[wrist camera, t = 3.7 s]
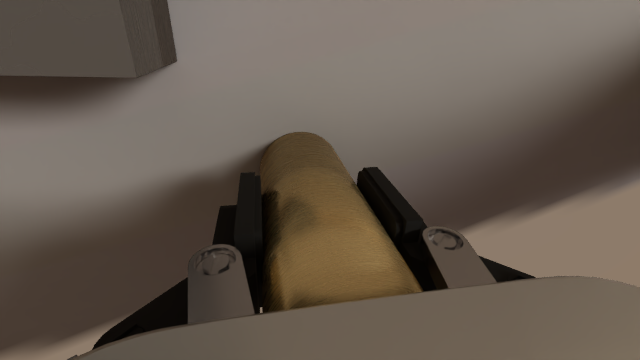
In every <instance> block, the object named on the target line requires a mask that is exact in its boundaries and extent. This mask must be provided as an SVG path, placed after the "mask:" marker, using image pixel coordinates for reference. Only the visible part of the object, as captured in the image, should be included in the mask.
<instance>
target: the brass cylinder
mask: <svg viewBox="0 0 640 360" xmlns="http://www.w3.org/2000/svg"><path fill="white" fill-rule="evenodd" d="M260 176H261V194H262V227H263V266H262V309H263V313H266V312H273V311H280V310H288V309H295V308H302V307H310V306H317V305H325V304H332V303H340V302H347V301H355V300H362V299H370V298H378V297H385V296H393V295H401V294H409V293H417V292H424V291H423V289H422V287H421V286H420V284H419V283H418V281H417V280H416V278H415V276H414V275H413V273H412V272H411V270H410V269H409V267H408V265H407V264H406V262H405V261H404V259H403V258H402V256H401V254H400V253H399V251H398V250H397V248H396V247H395V245H394V243H393V242H392V240H391V239H390V237H389V236H388V234H387V232H386V231H385V229H384V228H383V226H382V225H381V223H380V221H379V220H378V218H377V217H376V215H375V214H374V212H373V210H372V209H371V207H370V206H369V204H368V203H367V201H366V199H365V198H364V196H363V195H362V193H361V192H360V190H359V188H358V187H357V185H356V184H355V182H354V181H353V179H352V177H351V176H350V174H349V173H348V171H347V170H346V168H345V166H344V165H343V163H342V162H341V160H340V159H339V157H338V155H337V154H336V152H335V151H334V149H333V148H332V146H331V145H330V144H329V143H328V142H327V141H326V140H325V139H323V138H322V137H320V136H318V135H316V134H312V133H308V132H294V133H290V134H287V135H284V136H282V137H280V138H278V139H277V140H275V141H274V142H273V143H272V144H271V145H270V146H269V147H268V148H267V150H266V151H265V153H264V155H263V157H262V160H261V163H260Z"/></svg>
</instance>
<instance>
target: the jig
mask: <svg viewBox="0 0 640 360" xmlns="http://www.w3.org/2000/svg"><path fill="white" fill-rule="evenodd" d="M176 61H177V57H176V51H175V45H174V39H173V33H172V27H171V21H170V15H169V9H168V3H167V0H0V75H1V76H62V77H123V78H137V77H140V76H142V75H144V74H147V73H149V72H152V71H154V70H157V69H159V68H162V67H164V66H167V65H169V64H172V63H174V62H176Z"/></svg>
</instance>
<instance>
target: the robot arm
mask: <svg viewBox="0 0 640 360" xmlns="http://www.w3.org/2000/svg"><path fill="white" fill-rule="evenodd" d="M357 187H358V188H359V190H360V192H361V193H362V195H363V196H364V198H365V199H366V201H367V203H368V204H369V206H370V207H371V209H372V210H373V212H374V214H375V215H376V217H377V218H378V220H379V221H380V223H381V225H382V226H383V228H384V229H385V231H386V232H387V234H388V236H389V237H390V239H391V240H392V242H393V243H394V245H395V247H396V248H397V250H398V251H399V253H400V254H401V256H402V258H403V259H404V261H405V262H406V264H407V265H408V267H409V269H410V270H411V272H412V273H413V275H414V276H415V278H416V280H417V281H418V283H419V284H420V286H421V287H422V289H423V291H424V292H417V293H409V294H401V295H393V296H385V297H378V298H370V299H362V300H355V301H347V302H340V303H332V304H325V305H317V306H310V307H302V308H295V309H288V310H280V311H273V312H266V313H260V307H262V266H263V227H262V194H261V176H255V172H249V173H241V174H240V183H239V192H238V201H237V205H231V206H220V210H219V215H218V219H217V224H216V229H215V234H214V239H213V244H212V246H208V247H205V248H203V249H201V250H199V251H198V252H197V253H196V254H194V255H193V256H192V258H191V259H190V261H189V264H188V277H187V278H186V279H184V280H183V281H181V282H180V283H178V284H177V285H175V286H174V287H172V288H171V289H169V290H168V291H166V292H165V293H163V294H162V295H160V296H159V297H157V298H156V299H154V300H153V301H151V302H150V303H148V304H147V305H145V306H144V307H142V308H141V309H139V310H138V311H136V312H135V313H133V314H132V315H130V316H129V317H127V318H126V319H124V320H123V321H121V322H120V323H118V324H117V325H115V326H114V327H112V328H111V329H110V330H109V331H107V332H106V333H105V334H104V335H102V337H101V338H100V339H99V340H98V341H97V342H96V344H95V345H94V347H93V349H92V350H91V351H89V352H87V353H85V354H82V355H80V356H77V355H75V356H73V357H71V358H69V359H68V360H640V287H637V286H634V285H630V284H626V283H623V282H618V281H614V280H608V279H603V278H596V277H584V276H554V277H544V278H535V277H534V276H531V275H528V274H526V273H523V272H520V271H518V270H515V269H512V268H510V267H507V266H504V265H502V264H499V263H496V262H494V261H491V260H488V259H485V258H483V257H480V256H478V255H477V254H476V252H475V251H474V249H473V248H472V246H471V245H470V244H469V242H468V241H467V240H466V239H465V237H464V236H463V235H461V234H460V233H458V232H457V231H455V230H453V229H450V228H447V227H442V226H431V227H427V226H426V225H425V223H424V222H423V219H422V218H421V217H420V216H419V215H418V213H417V212H416V211H415V210H414V209H413V208H412V207H411V205H410V204H409V203H408V202H407V201H406V200H405V199H404V197H403V196H402V195H401V194H400V193H399V192H398V190H397V189H396V188H395V187H394V186H393V185H392V184H391V182H390V181H389V180H388V179H387V178H386V177H385V175H384V174H383V173H382V172H381V171H380V170H379V169H378V168H377V167H369V168H363V170H362V171H359V173H358V179H357Z"/></svg>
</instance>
